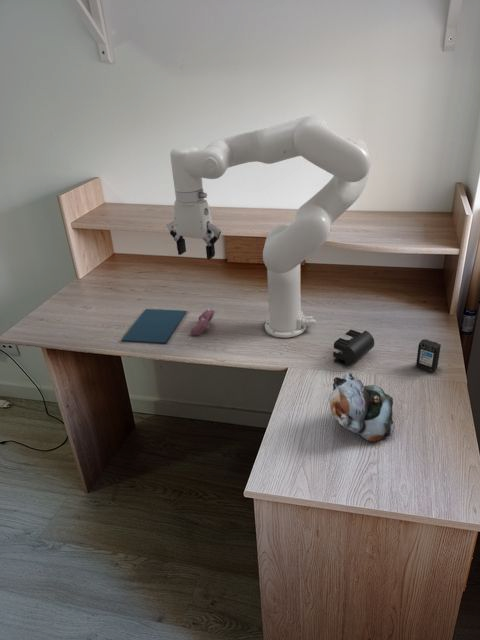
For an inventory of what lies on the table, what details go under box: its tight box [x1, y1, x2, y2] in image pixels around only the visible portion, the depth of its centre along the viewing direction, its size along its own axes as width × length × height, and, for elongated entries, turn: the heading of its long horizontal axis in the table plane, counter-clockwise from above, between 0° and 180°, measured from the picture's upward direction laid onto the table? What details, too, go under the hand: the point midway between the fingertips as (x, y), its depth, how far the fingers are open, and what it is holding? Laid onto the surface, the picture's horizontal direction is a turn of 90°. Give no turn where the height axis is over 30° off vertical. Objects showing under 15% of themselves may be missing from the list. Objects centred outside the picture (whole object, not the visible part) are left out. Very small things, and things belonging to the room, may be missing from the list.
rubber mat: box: [121, 308, 187, 345], centre depth 163 cm, size 14×20×1 cm
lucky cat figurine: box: [328, 372, 395, 443], centre depth 115 cm, size 15×12×14 cm
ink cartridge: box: [415, 338, 442, 374], centre depth 134 cm, size 5×2×8 cm, turn 51°
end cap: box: [332, 329, 375, 367], centre depth 140 cm, size 10×7×7 cm
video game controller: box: [190, 308, 216, 336], centre depth 159 cm, size 10×5×7 cm, turn 168°
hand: (196, 255), depth 148 cm, fingers open, 9 cm apart
